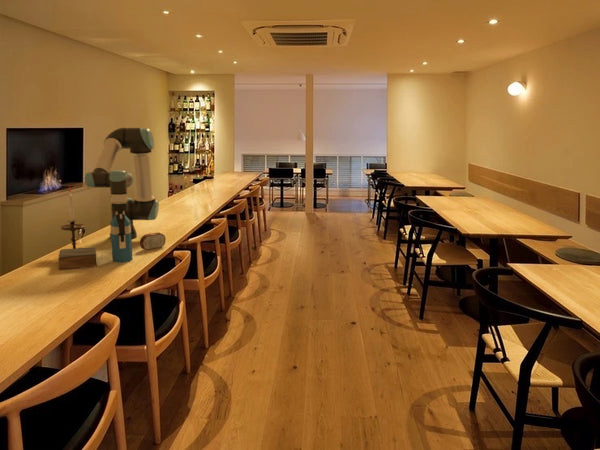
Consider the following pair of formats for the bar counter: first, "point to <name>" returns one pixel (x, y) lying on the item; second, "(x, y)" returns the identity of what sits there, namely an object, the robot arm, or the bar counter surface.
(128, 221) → the water bottle
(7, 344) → the bar counter surface
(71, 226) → the candlestick
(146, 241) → the tin
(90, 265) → the stand
